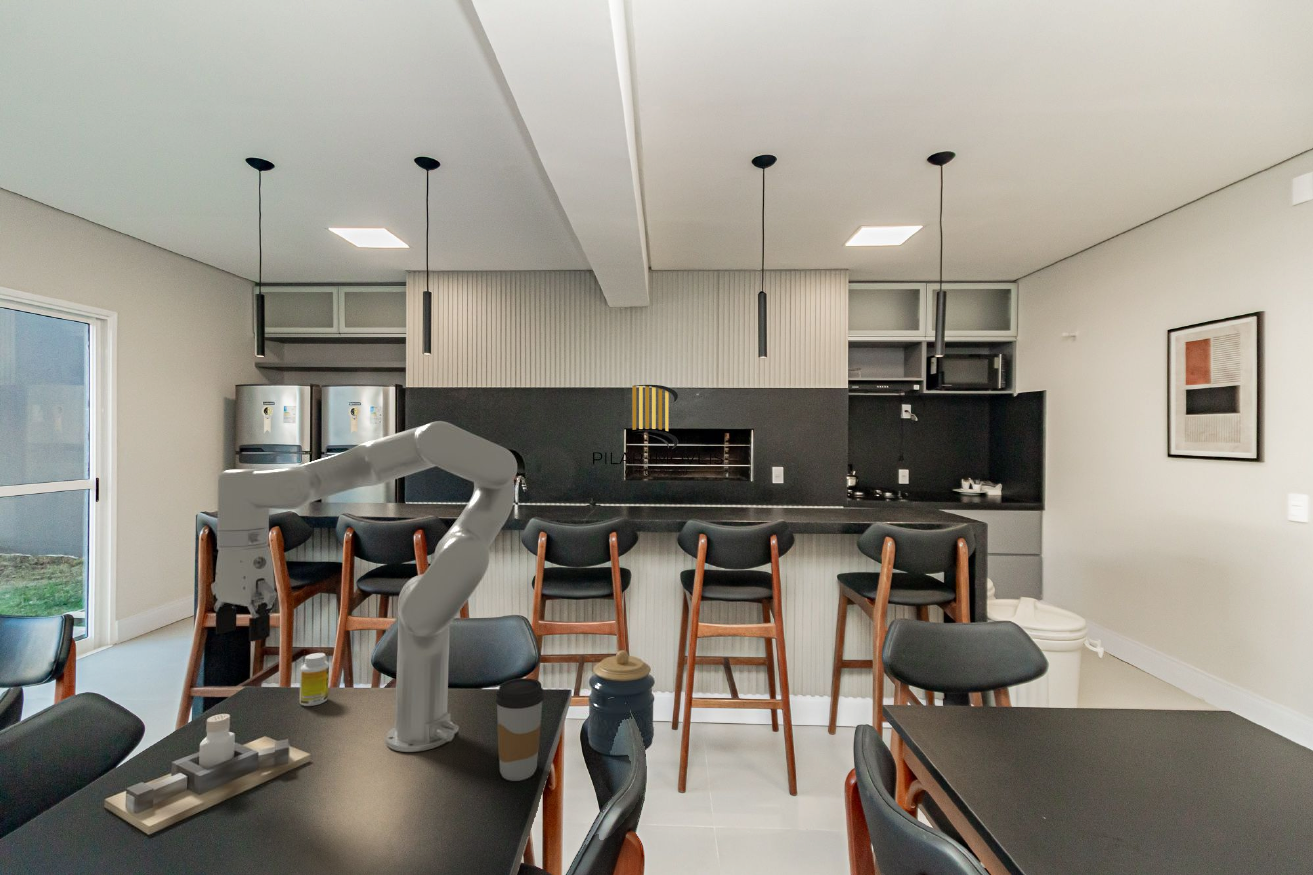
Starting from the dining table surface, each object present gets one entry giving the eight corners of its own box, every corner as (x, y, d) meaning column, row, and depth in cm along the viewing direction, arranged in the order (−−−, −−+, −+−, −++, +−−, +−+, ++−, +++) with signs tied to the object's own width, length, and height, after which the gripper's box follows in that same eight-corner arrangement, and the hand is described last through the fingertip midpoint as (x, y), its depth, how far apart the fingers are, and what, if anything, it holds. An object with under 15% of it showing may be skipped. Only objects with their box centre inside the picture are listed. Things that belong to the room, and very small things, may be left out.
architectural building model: (265, 742, 114) (265, 720, 114) (310, 760, 108) (311, 737, 108) (104, 807, 93) (105, 779, 93) (148, 834, 86) (149, 805, 86)
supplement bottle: (330, 702, 133) (331, 656, 133) (301, 709, 129) (303, 661, 129) (325, 694, 137) (326, 649, 137) (297, 700, 133) (298, 654, 134)
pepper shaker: (224, 779, 99) (226, 721, 99) (196, 782, 98) (198, 723, 98) (235, 767, 103) (237, 711, 103) (208, 769, 102) (210, 713, 102)
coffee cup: (551, 771, 105) (553, 685, 106) (511, 790, 99) (513, 699, 100) (524, 754, 111) (526, 673, 112) (484, 771, 105) (486, 685, 105)
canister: (612, 720, 126) (614, 636, 126) (665, 736, 119) (667, 647, 120) (573, 746, 115) (575, 653, 115) (630, 765, 108) (631, 666, 109)
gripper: (295, 538, 105) (294, 635, 105) (236, 533, 113) (235, 623, 113) (251, 544, 99) (249, 648, 98) (192, 538, 106) (190, 635, 106)
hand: (242, 635), depth 105 cm, fingers open, 9 cm apart
